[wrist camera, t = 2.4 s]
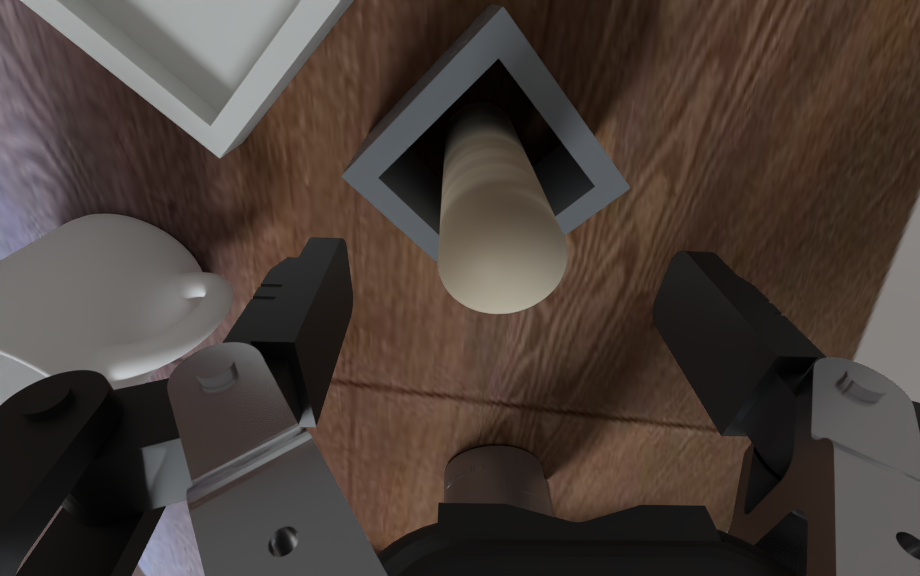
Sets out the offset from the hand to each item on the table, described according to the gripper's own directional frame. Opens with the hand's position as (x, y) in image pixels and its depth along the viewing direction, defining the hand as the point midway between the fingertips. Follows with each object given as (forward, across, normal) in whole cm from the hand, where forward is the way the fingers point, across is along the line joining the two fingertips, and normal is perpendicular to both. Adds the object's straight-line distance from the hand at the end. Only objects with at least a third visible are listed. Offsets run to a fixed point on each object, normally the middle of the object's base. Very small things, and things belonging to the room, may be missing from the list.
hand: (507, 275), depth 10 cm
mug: (+13, +18, +9) cm, 24 cm away
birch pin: (+13, 0, 0) cm, 13 cm away
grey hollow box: (+13, 0, 0) cm, 13 cm away
